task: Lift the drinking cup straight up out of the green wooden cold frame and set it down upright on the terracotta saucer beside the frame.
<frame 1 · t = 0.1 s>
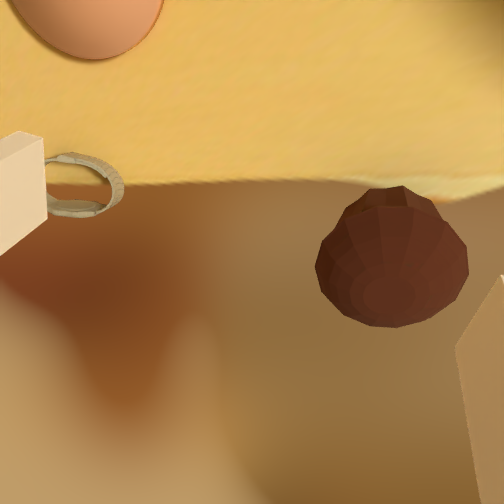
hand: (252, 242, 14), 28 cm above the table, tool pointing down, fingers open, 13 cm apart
muffin: (388, 229, 43), on the table
wristwatch: (86, 176, 48), on the table
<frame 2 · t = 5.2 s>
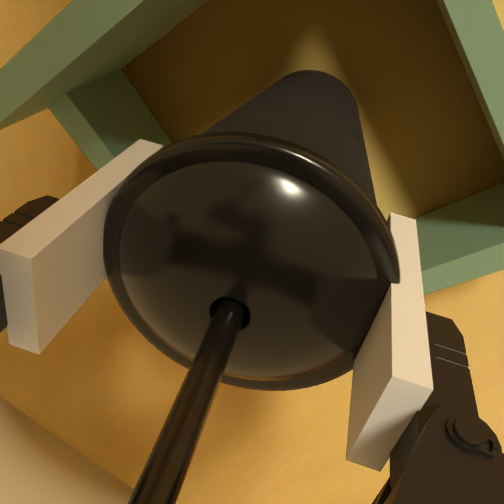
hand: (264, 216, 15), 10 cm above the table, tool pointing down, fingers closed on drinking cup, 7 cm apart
drinking cup: (309, 121, 23), resting in cold frame, touching gripper
cold frame: (308, 122, 23), on the table
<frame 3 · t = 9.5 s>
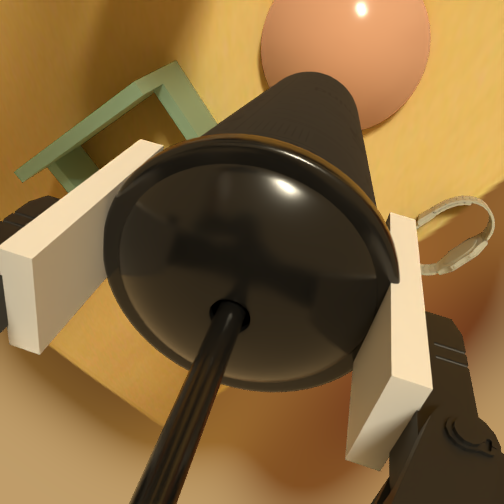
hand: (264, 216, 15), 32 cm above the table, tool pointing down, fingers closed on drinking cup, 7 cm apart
saucer: (343, 49, 41), on the table
drinking cup: (309, 122, 23), point 21 cm above the table, touching gripper
cold frame: (164, 170, 51), on the table
wristwatch: (443, 224, 47), on the table
when the fingers open (13 cm above the table, at t = 13.8 s): drinking cup drops 1 cm, resting on saucer.
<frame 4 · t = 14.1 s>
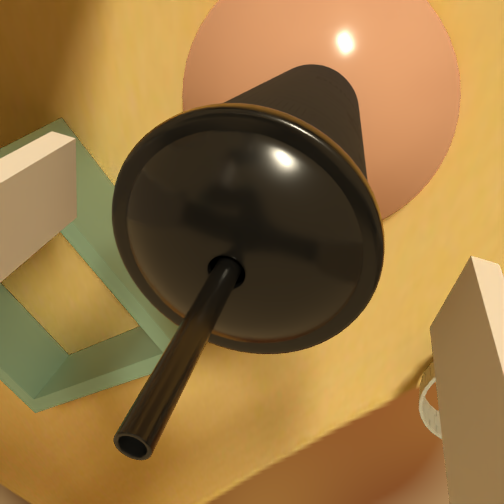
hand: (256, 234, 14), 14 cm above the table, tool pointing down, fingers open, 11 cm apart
saucer: (314, 108, 25), on the table
drinking cup: (311, 113, 24), point 1 cm above the table, touching saucer
cold frame: (66, 265, 36), on the table
wristwatch: (479, 360, 32), on the table
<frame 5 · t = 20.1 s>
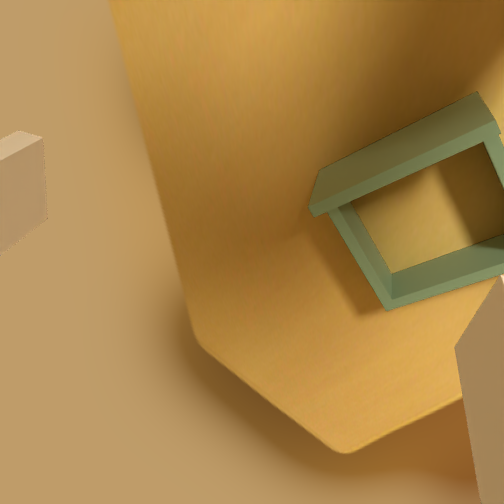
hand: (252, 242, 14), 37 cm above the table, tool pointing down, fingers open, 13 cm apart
cold frame: (425, 200, 50), on the table
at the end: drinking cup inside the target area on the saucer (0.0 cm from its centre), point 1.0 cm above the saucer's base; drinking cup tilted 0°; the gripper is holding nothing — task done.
